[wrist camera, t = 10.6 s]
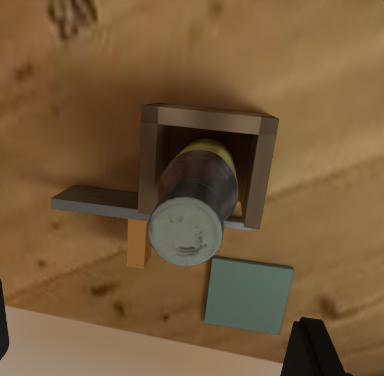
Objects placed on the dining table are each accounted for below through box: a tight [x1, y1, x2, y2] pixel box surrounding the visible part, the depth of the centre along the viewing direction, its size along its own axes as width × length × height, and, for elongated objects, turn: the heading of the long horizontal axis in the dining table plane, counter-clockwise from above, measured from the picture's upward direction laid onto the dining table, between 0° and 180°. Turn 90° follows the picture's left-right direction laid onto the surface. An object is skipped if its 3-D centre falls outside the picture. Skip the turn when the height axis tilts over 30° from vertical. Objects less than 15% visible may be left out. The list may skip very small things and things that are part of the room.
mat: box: [204, 256, 294, 335], centre depth 39 cm, size 10×10×1 cm
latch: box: [51, 185, 151, 269], centre depth 35 cm, size 11×7×5 cm, turn 85°
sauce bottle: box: [147, 138, 238, 266], centre depth 25 cm, size 7×6×20 cm
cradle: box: [138, 103, 279, 231], centre depth 32 cm, size 20×13×7 cm, turn 85°
